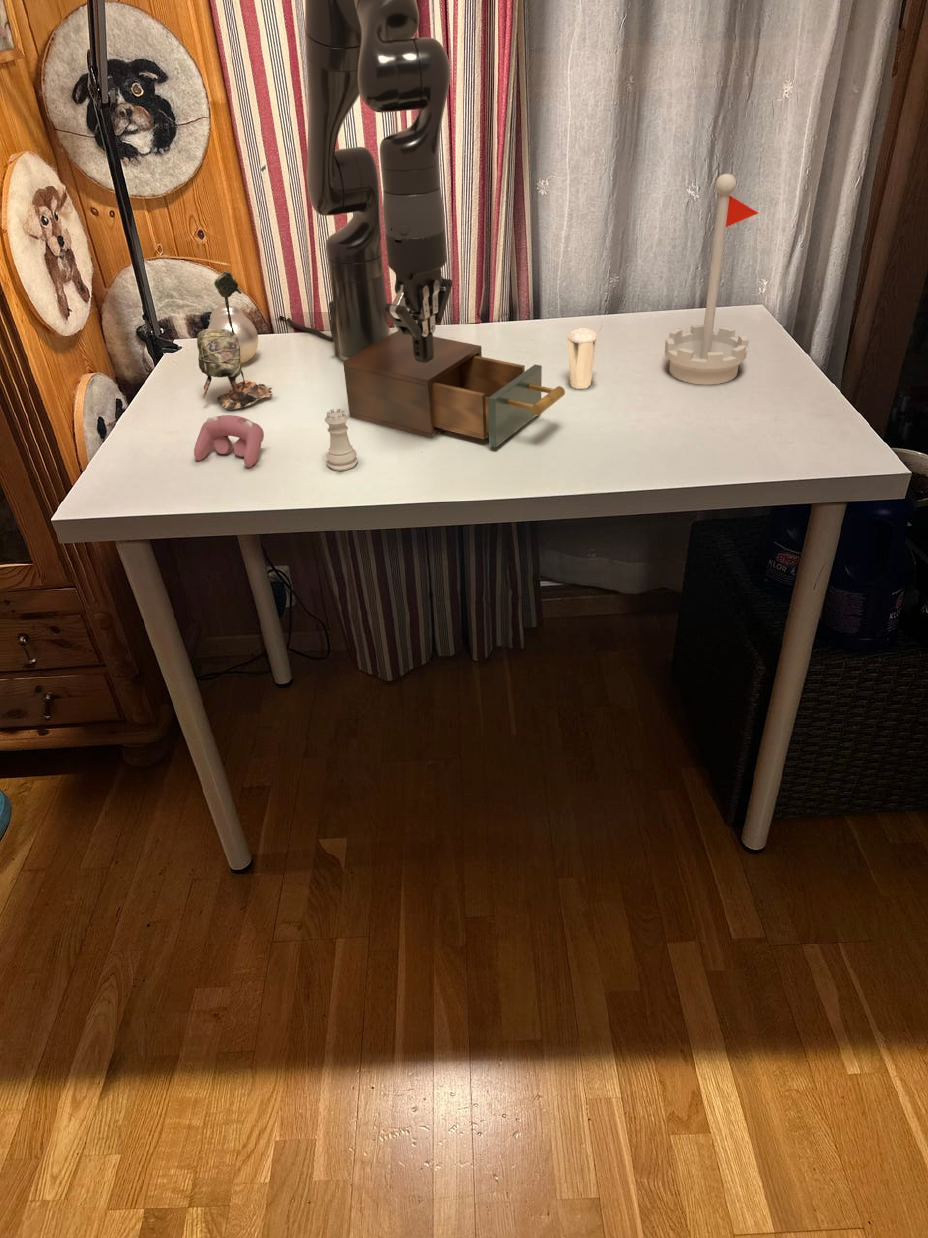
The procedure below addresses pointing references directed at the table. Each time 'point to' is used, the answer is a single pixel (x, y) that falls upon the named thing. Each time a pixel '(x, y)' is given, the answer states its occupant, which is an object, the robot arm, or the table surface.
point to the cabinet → (400, 381)
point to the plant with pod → (227, 356)
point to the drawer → (490, 398)
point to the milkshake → (581, 356)
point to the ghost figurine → (236, 329)
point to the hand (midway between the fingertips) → (424, 360)
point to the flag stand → (711, 312)
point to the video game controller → (218, 434)
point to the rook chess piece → (339, 442)
